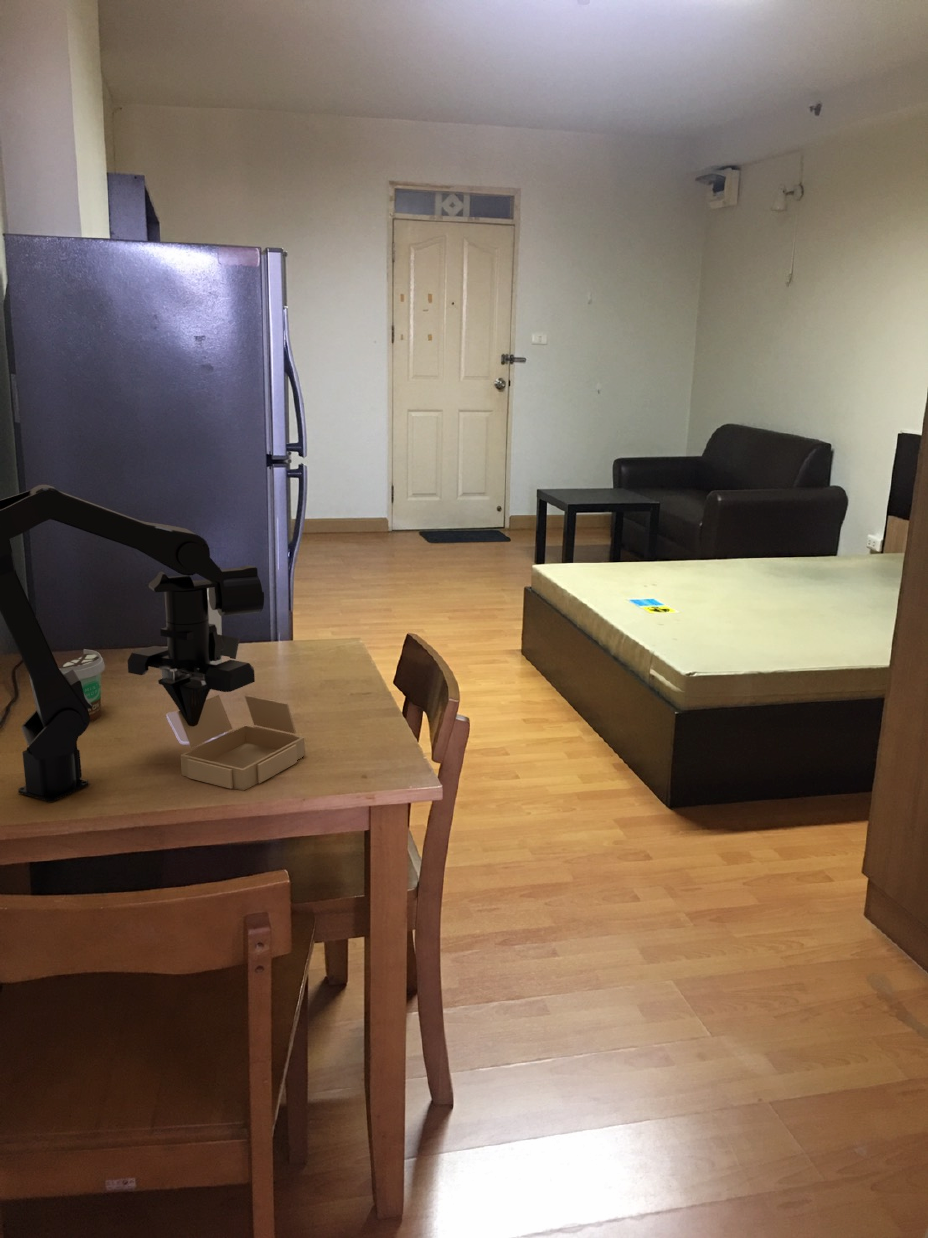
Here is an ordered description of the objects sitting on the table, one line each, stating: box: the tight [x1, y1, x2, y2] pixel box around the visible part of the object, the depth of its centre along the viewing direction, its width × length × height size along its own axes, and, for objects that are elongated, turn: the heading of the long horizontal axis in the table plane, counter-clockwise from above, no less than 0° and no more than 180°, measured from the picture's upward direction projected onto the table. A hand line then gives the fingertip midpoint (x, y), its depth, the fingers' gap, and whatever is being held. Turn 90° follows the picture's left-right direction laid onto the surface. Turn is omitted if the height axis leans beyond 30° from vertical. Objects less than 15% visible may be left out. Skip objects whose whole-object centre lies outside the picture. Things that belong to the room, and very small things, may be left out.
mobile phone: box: [165, 710, 228, 746], centre depth 155 cm, size 8×1×15 cm
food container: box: [58, 648, 106, 723], centre depth 156 cm, size 12×6×10 cm, turn 168°
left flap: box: [177, 694, 233, 749], centre depth 142 cm, size 9×1×6 cm, turn 153°
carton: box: [180, 724, 306, 792], centre depth 139 cm, size 15×12×3 cm
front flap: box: [244, 694, 297, 735], centre depth 144 cm, size 1×8×6 cm, turn 63°
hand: (193, 725), depth 139 cm, fingers closed
